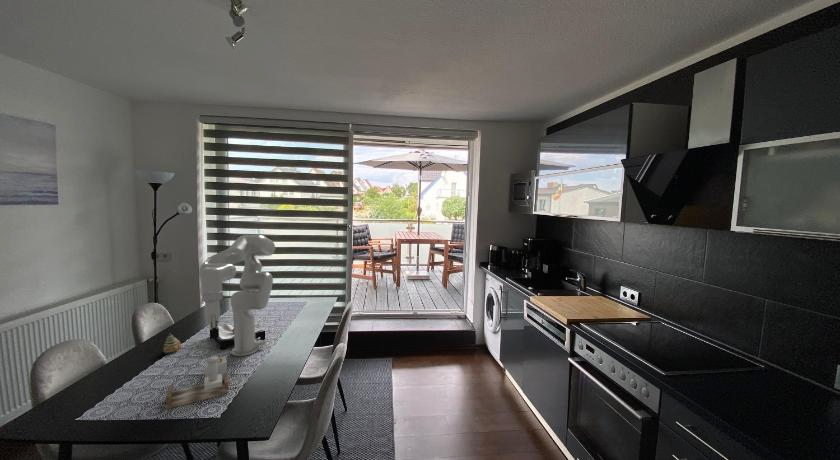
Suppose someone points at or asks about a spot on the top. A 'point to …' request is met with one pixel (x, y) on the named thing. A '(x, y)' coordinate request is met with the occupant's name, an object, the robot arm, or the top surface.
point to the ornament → (171, 345)
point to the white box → (218, 367)
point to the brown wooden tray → (194, 394)
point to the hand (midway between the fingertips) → (214, 337)
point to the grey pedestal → (212, 374)
